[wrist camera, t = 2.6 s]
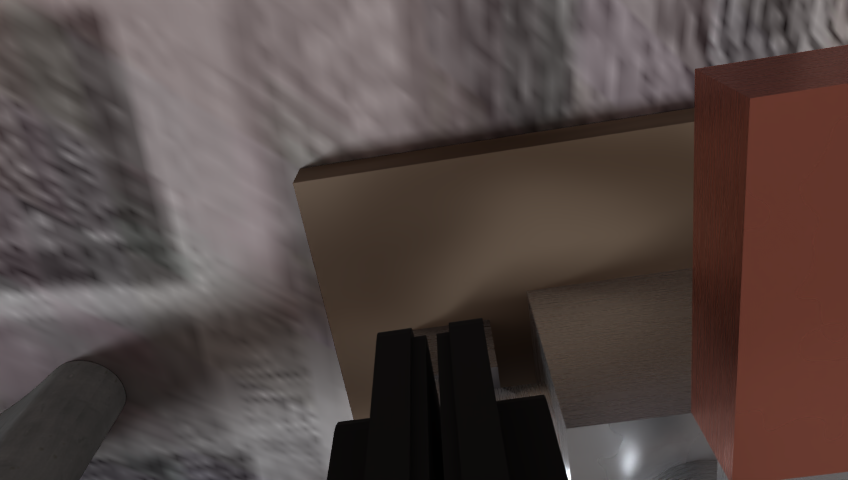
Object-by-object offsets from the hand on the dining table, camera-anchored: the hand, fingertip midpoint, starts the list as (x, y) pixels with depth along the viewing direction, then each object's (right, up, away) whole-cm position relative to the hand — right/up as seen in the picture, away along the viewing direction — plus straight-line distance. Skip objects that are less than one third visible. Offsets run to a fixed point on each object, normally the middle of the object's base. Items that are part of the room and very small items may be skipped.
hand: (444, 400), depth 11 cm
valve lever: (+7, -1, +4) cm, 8 cm away
